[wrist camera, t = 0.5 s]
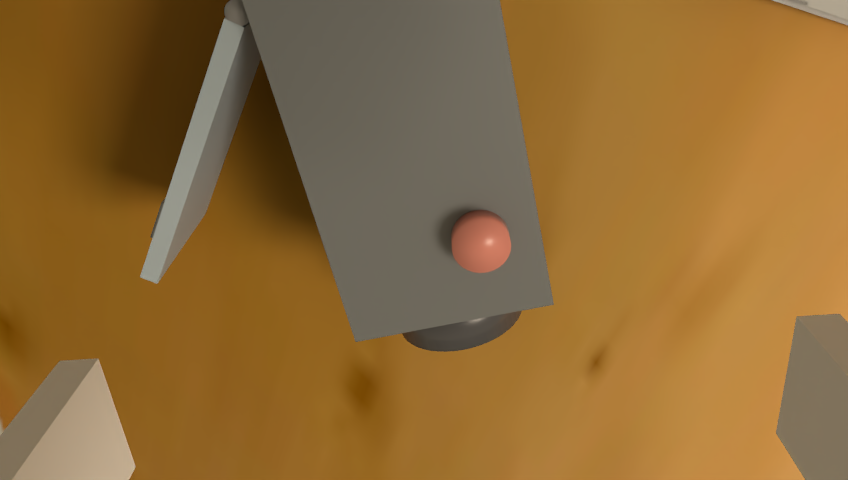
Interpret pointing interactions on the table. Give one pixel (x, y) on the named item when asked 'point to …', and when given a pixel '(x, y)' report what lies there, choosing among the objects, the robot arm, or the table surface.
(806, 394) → the robot arm
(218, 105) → the door
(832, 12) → the gadget
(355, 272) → the cam body
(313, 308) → the table surface
